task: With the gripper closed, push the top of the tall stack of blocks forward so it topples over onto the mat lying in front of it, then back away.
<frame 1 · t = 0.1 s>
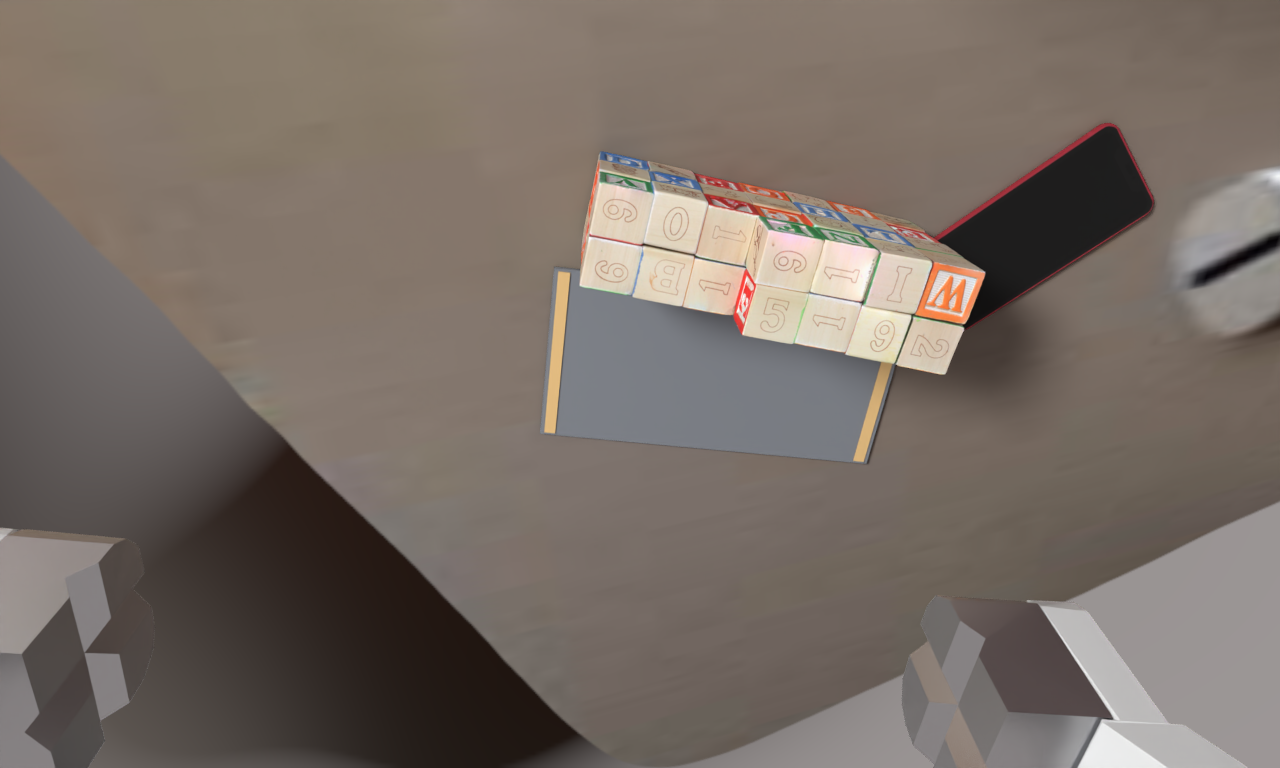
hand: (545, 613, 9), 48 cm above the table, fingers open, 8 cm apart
smartphone: (1024, 228, 58), on the table
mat: (720, 370, 61), on the table
stack of blocks: (746, 230, 56), on the table, touching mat
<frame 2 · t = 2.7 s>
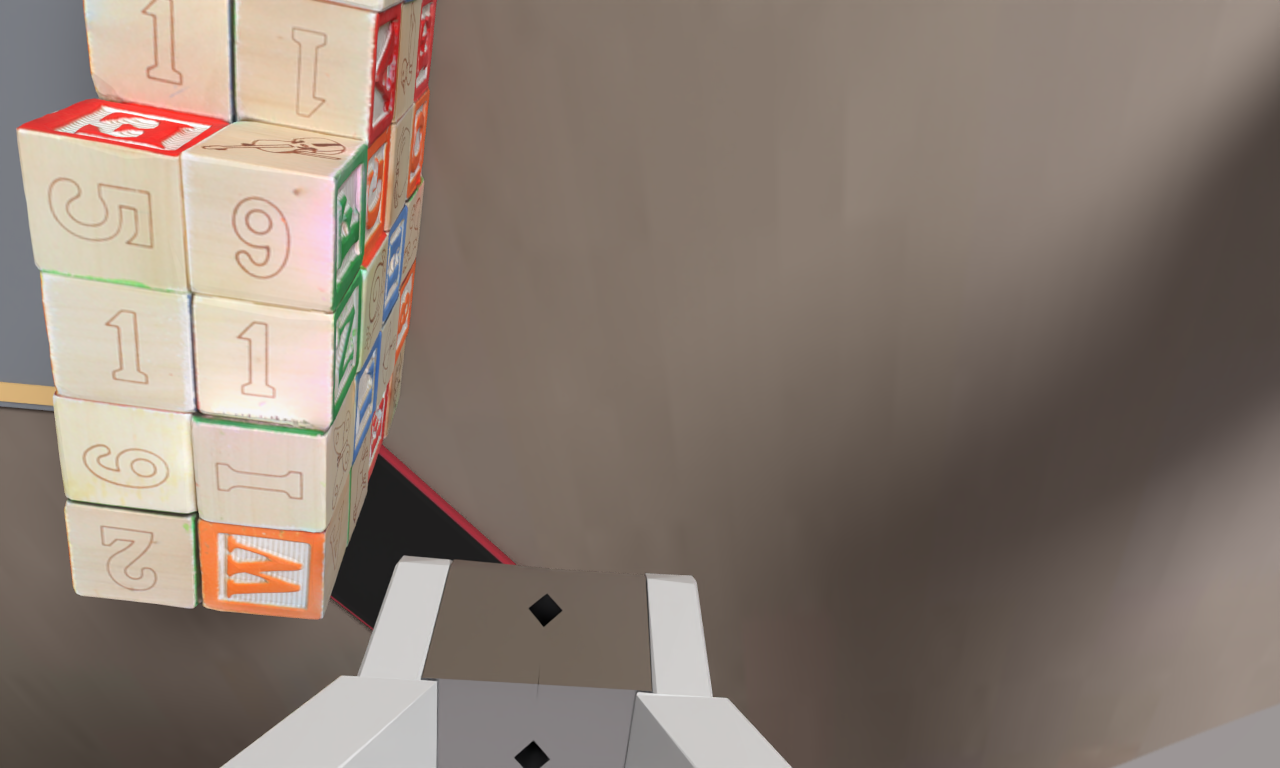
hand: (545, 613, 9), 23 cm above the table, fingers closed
smartphone: (410, 554, 38), on the table
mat: (7, 76, 28), on the table
stack of blocks: (335, 112, 28), on the table, touching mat
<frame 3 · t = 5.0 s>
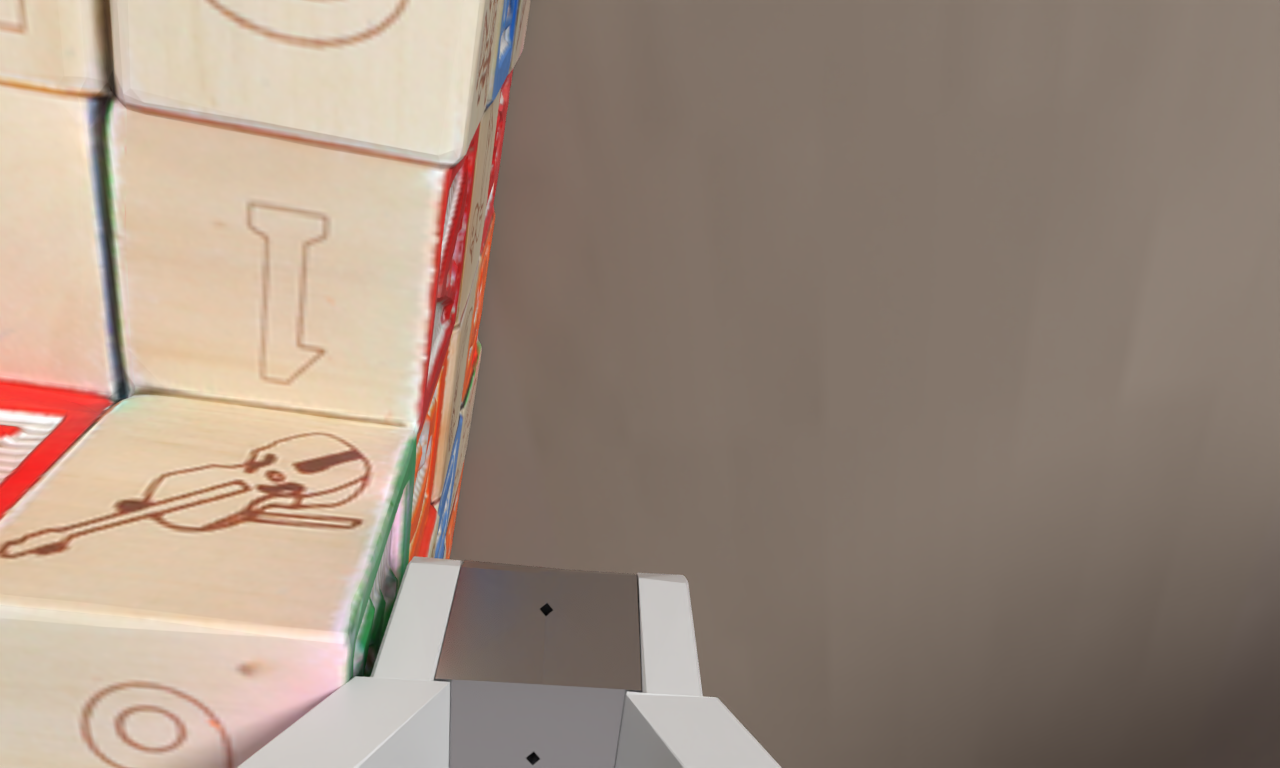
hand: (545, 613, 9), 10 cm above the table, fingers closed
stack of blocks: (343, 246, 18), on the table, touching gripper, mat
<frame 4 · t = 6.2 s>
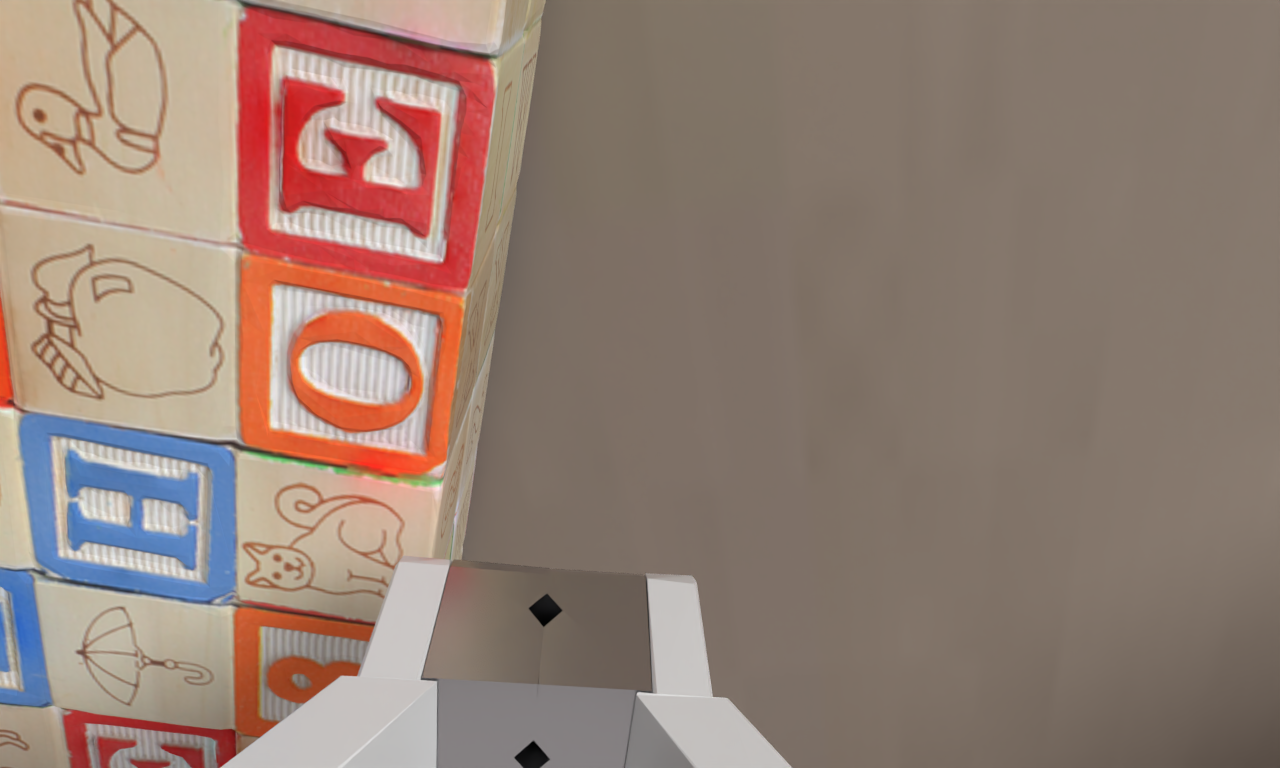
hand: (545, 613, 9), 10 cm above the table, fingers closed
stack of blocks: (503, 315, 15), point 4 cm above the table, touching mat
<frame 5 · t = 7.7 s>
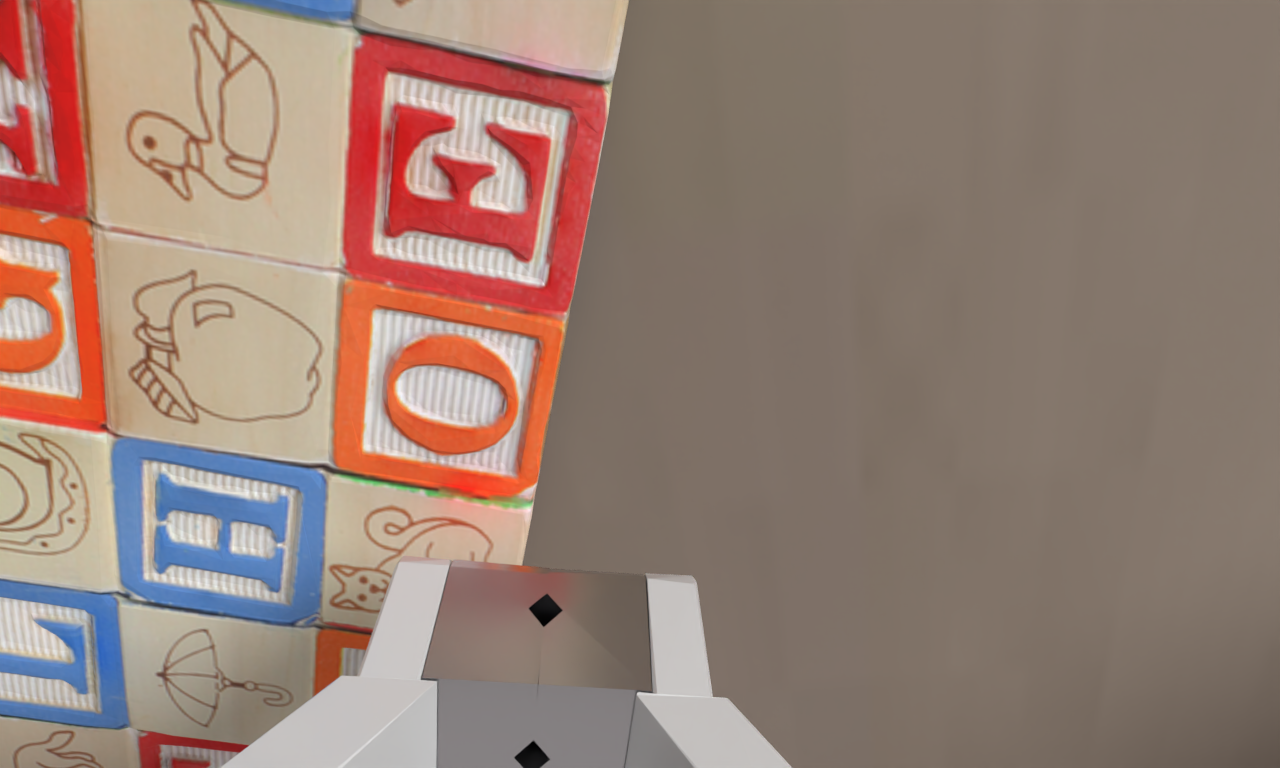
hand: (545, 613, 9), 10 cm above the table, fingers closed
stack of blocks: (580, 333, 15), point 4 cm above the table, touching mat
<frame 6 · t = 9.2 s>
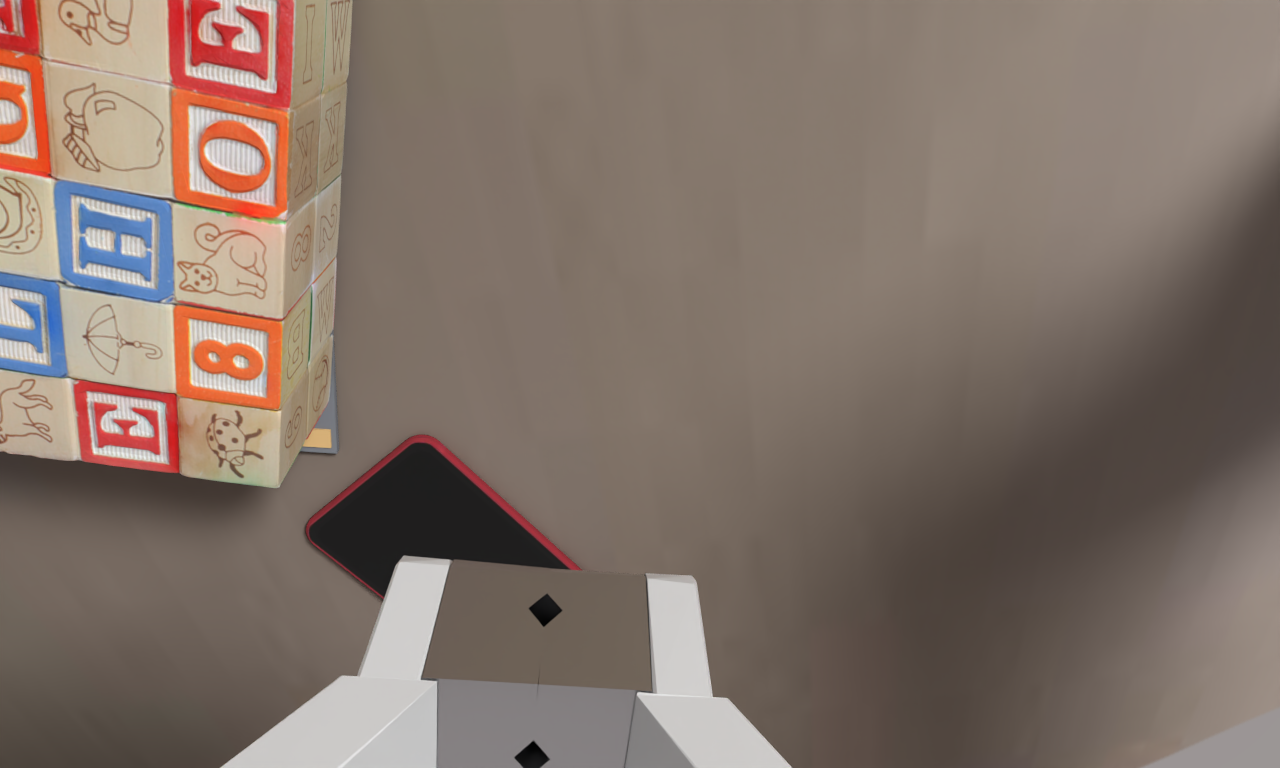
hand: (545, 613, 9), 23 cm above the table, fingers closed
smartphone: (488, 575, 38), on the table
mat: (120, 111, 28), on the table
stack of blocks: (330, 148, 25), point 4 cm above the table, touching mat
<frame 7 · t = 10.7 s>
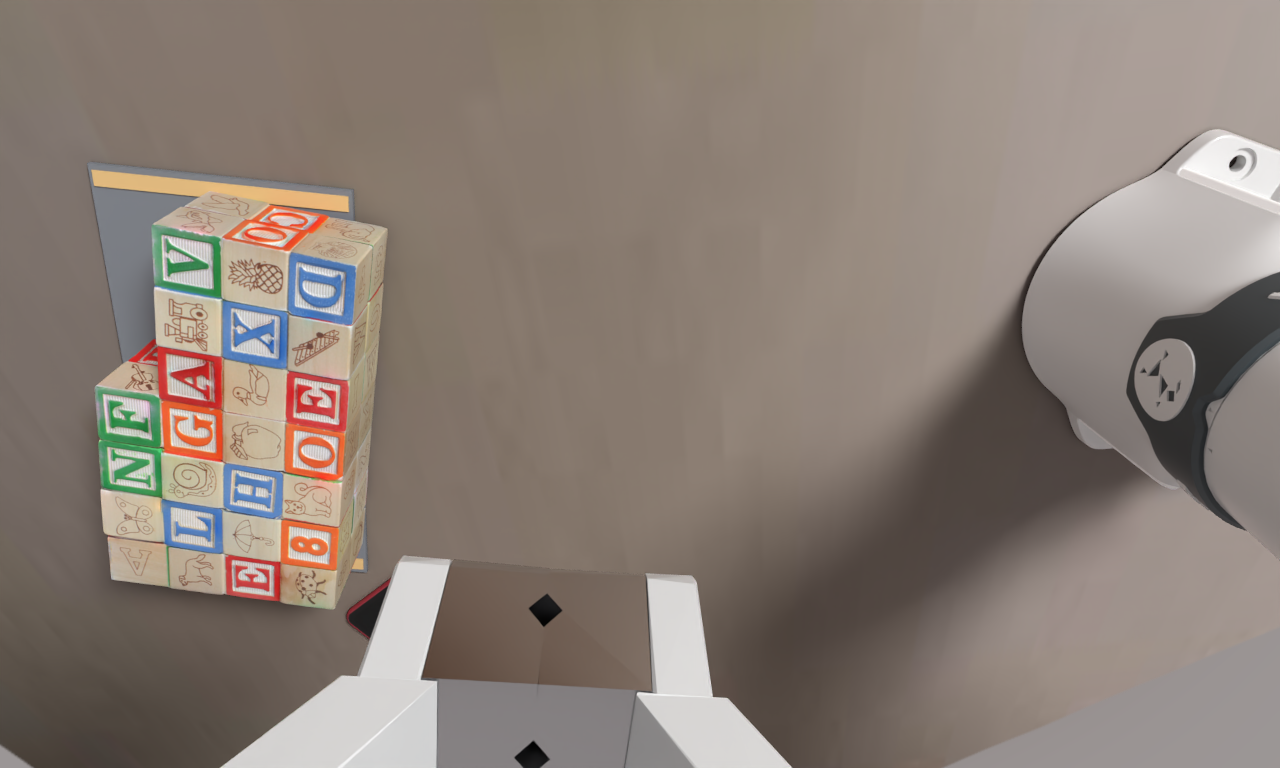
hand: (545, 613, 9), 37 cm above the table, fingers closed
smartphone: (462, 643, 59), on the table
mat: (246, 391, 49), on the table
stack of blocks: (365, 429, 46), point 4 cm above the table, touching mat
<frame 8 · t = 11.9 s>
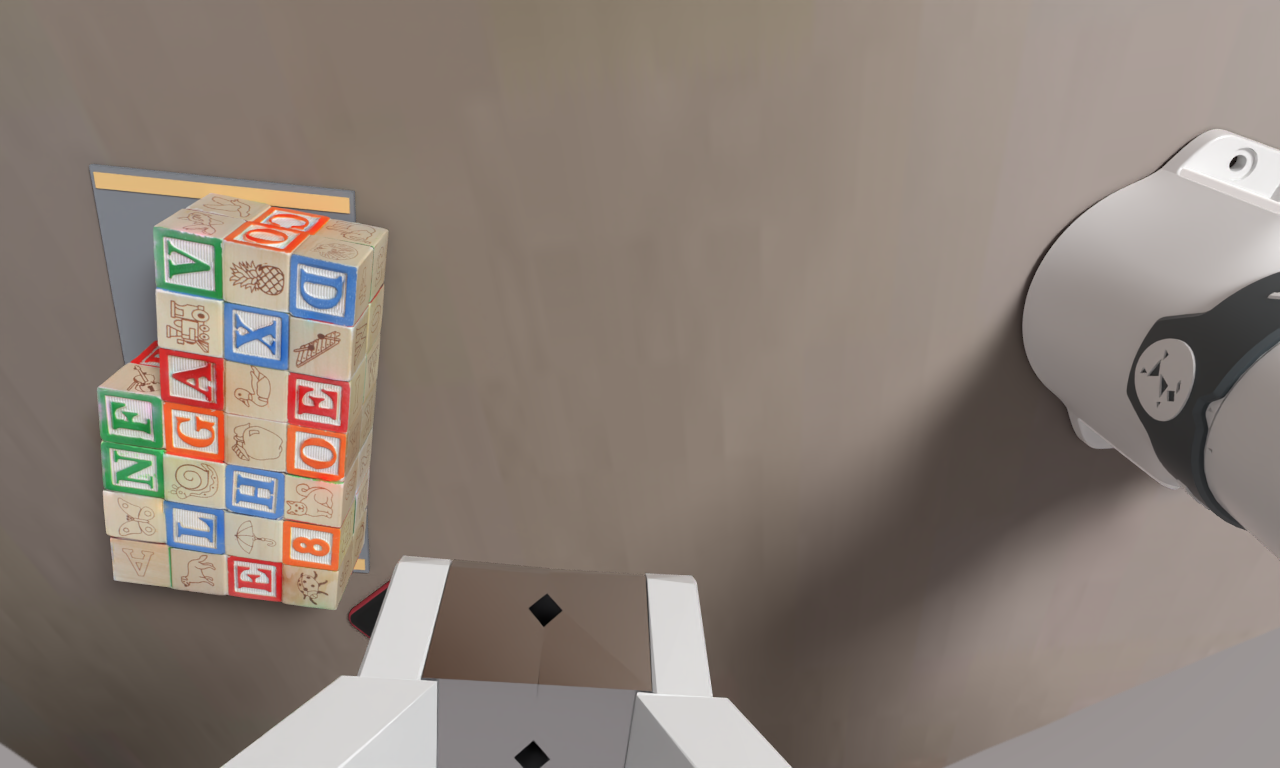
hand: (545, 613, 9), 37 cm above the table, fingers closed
smartphone: (464, 643, 59), on the table
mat: (248, 392, 49), on the table
stack of blocks: (366, 430, 46), point 4 cm above the table, touching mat
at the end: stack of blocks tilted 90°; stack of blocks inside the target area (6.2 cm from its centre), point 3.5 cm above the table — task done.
